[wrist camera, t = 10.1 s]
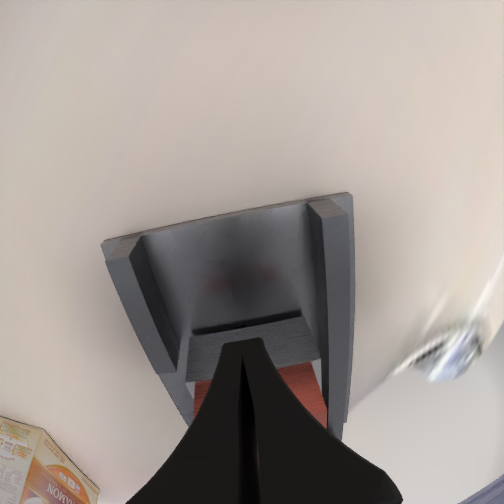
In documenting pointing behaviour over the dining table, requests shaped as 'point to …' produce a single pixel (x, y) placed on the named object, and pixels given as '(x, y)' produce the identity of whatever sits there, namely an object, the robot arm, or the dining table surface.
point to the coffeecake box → (38, 469)
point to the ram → (280, 351)
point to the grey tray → (243, 286)
